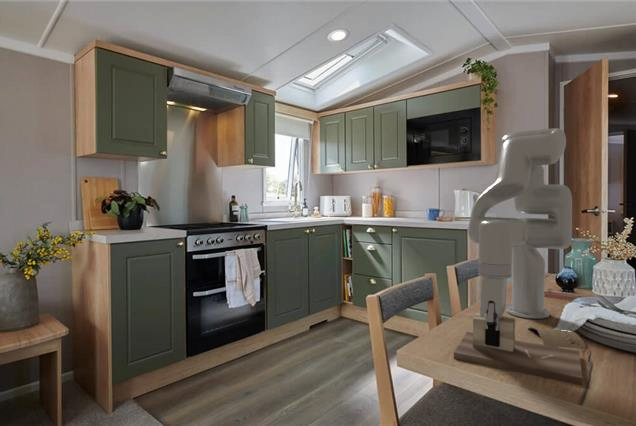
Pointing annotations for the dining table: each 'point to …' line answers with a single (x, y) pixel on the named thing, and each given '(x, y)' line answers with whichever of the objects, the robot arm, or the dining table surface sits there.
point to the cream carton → (505, 334)
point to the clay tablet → (560, 338)
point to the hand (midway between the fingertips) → (493, 340)
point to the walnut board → (526, 359)
